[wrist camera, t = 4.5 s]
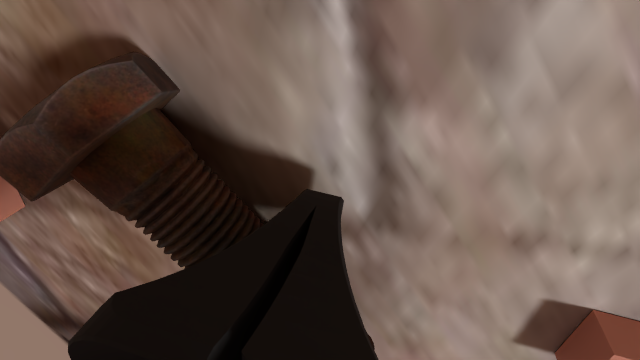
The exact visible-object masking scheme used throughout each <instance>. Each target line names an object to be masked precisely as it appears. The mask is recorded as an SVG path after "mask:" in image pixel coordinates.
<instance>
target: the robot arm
mask: <svg viewBox="0 0 640 360" xmlns="http://www.w3.org/2000/svg"><path fill="white" fill-rule="evenodd" d="M343 203H344V200H343V199H342V198H341V197H338V196H334V195H330V194H326V193H321V192H317V191H313V190H308V189H307V190H305V191H303V192H302V193H301V194H300V195H299V196H298V197H297V198H296V199H295V200H294V201H292V202H291V203H290V204H289V205H288V206H287V207H286V208H284V209H283V210H282V211H281V212H279V213H278V214H277V215H276V216H274V217H273V218H272V219H271V220H269V221H268V222H267V223H265V224H264V225H263V226H261V227H260V228H258V229H257V230H255V231H254V232H253V233H251V234H250V235H248V236H247V237H245V238H244V239H242V240H240V241H239V242H237V243H236V244H234V245H232V246H230V247H229V248H227V249H225V250H223V251H222V252H220V253H218V254H216V255H214V256H212V257H210V258H208V259H206V260H204V261H202V262H200V263H198V264H195V265H193V266H191V267H188V268H186V269H184V270H181V271H179V272H176V273H174V274H171V275H168V276H166V277H163V278H160V279H158V280H155V281H152V282H149V283H145V284H142V285H139V286H136V287H133V288H130V289H127V290H123V291H120V292H116V293H114V294H113V295H112V296H111V297H110V298H109V299H108V300H107V301H106V302H105V303H104V304H103V305H102V306H101V307H100V308H99V309H98V310H97V311H96V312H95V314H94V315H93V316H92V317H91V318H90V319H89V320H88V321H87V322H86V323H85V324H84V325H83V327H82V328H81V329H80V330H79V331H78V332H77V333H76V334H75V335H74V336H73V337H72V339H71V340H70V341H69V343H68V353H69V356H70V358H71V360H378V357H377V355H376V353H375V351H374V349H373V347H372V344H371V342H370V340H369V337H368V335H367V332H366V330H365V328H364V325H363V322H362V319H361V317H360V314H359V311H358V308H357V305H356V303H355V300H354V296H353V293H352V289H351V286H350V282H349V278H348V274H347V269H346V264H345V259H344V253H343V246H342V236H341V214H342V208H343Z"/></svg>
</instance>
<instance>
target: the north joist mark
mask: <svg viewBox="0 0 640 360" xmlns="http://www.w3.org/2000/svg"><path fill="white" fill-rule="evenodd" d="M23 207H25V205H24V203H23V201H22V199H21V197H20V195H19V192H18V190H17V189H15V188H14V187H13V186H12V185H10V184H9V183H8V182H7V181H6V180H4V179H3V178H2V177H1V176H0V222H1V221H2V220H4V219H6V218H7V217H9V216H11V215H12V214H14V213H15V212H17V211H19V210H20V209H22V208H23Z"/></svg>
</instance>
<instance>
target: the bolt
mask: <svg viewBox="0 0 640 360" xmlns="http://www.w3.org/2000/svg"><path fill="white" fill-rule="evenodd" d="M179 92H180V89H179V88H178V87H177V86H176V85H175V84H174V83H173V81H172V80H171V79H170V78H169V77H168V76H167V75H166V74H165V73H164V71H163V70H162V69H161V68H160V67H159V66H158V65H157V64H156V63H155V62H154V61H153V60H151V59H150V58H148V57H147V56H145V55H143V54H141V53H137V52H132V53H129V54H126V55H123V56H120V57H116V58H113V59H111V60H108V61H106V62H104V63H102V64H100V65H97V66H95V67H93V68H91V69H89V70H87V71H85V72H83V73H81V74H79V75H77V76H75V77H73V78H72V79H70V80H69V81H68V82H66V83H65V84H64V85H62V86H61V87H60V88H58V89H57V90H56V91H54V92H53V93H52V94H50V95H49V96H48V97H47V98H45V99H44V100H43V101H41V102H40V103H39V104H37V105H36V106H35V107H33V108H32V109H31V110H30V111H29V112H28V113H27V114H25V115H24V116H23V117H22V118H21V119H20V120H19V121H18V122H17V123H16V124H15V125H13V126H12V127H11V128H10V129H9V130H8V131H7V132H6V133H5V134H4V135H3V137H2V138H1V139H0V176H1V177H2V178H3V179H4V180H6V181H7V182H8V183H9V184H10V185H12V186H13V187H14V188H15V189H17V190H18V191H19V192H20V193H21V194H23V195H24V196H25V197H26V198H28V199H29V200H30V201H35V200H37V199H38V198H40V197H42V196H44V195H46V194H47V193H49V192H51V191H53V190H55V189H56V188H58V187H60V186H62V185H64V184H65V183H67V182H69V181H71V180H73V179H75V180H76V181H78V182H79V183H80V184H81V185H82V186H83V187H85V188H86V189H87V190H88V191H89V192H90V193H92V194H93V195H94V196H95V197H96V198H97V199H99V200H100V201H101V202H102V203H103V204H104V205H106V206H107V207H108V208H109V209H110V210H112V211H116V212H118V213H119V214H121V215H123V216H125V217H126V220H128V221H132V220H137V222H136V224H135V227H136V228H140V227H145V229H144V231H143V233H144V234H145V235H146V234H150V233H152V235H151V238H150V240H151V241H156V240H159V241H158V244H157V247H158V248H162V247H165V249H164V253H165V254H172V255H171V259H172V260H173V261H176V260H179V261H178V265H179V266H180V267H183V266H185V269H186V268H188V267H191V266H193V265H195V264H198V263H200V262H202V261H204V260H206V259H208V258H210V257H212V256H214V255H216V254H218V253H220V252H222V251H223V250H225V249H227V248H229V247H230V246H232V245H234V244H236V243H237V242H239V241H240V240H242V239H244V238H245V237H247V236H248V235H250V234H251V233H253V232H254V231H255V230H257V229H258V228H260V227H261V226H263V225H264V224H263V223H262V222H260V220H259V218H258V217H255V215H254V213H253V212H252V211H249V210H248V206H247V205H242V204H243V202H242V200H241V199H237V198H236V197H237V196H236V194H235V193H232V192H230V187H229V186H224V182H223V180H217V177H218V176H217V174H216V173H212V174H210V173H211V168H210V167H208V166H207V167H204V163H205V162H204V161H203V160H198V154H197V153H196V152H195V151H194V150H193V149H192V147H191V143H190V142H189V141H188V140H187V139H186V138H185V137H184V136H183V135H182V134H181V133H180V132H179V130H178V129H177V128H176V127H175V126H174V125H173V124H172V123H171V122H170V121H169V120H168V119H167V118H166V116H165V115H164V114H163V113H162V112H161V111H160V110H161V109H162V108H163V107H164V106H165V105H166V104H167V103H168V102H169V101H170V100H171V99H172V98H174V97H175V96H176V95H177V94H178V93H179ZM203 167H204V168H203ZM367 335H368V334H367ZM368 337H369V340H370V342H371V344H372V347H373V349H375V348H374V343H373V341H372V339H371V337H370V336H369V335H368Z"/></svg>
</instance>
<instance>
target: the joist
mask: <svg viewBox="0 0 640 360" xmlns="http://www.w3.org/2000/svg"><path fill="white" fill-rule="evenodd" d="M555 355H556V358H557V360H640V322H639V321H635V320H631V319H627V318H623V317H619V316H615V315H611V314H607V313H603V312H600V311H596V310H592V312H591V313H590V314H589V315H588V316H587V317H586V318H585V320H584V321H583V322H582V323H581V324H580V325H579V326H578V327H577V329H576V330H575V331H574V332H573V333H572V334H571V335H570V336H569V338H568V339H567V340H566V341H565V342H564V343H563V344H562V346H561V347H560V348H559V349H558V350H557V351H556V352H555Z"/></svg>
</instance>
